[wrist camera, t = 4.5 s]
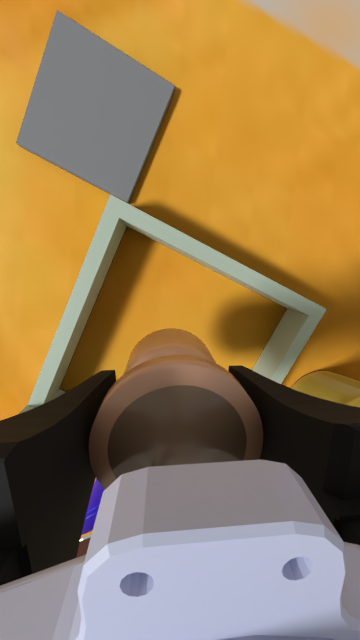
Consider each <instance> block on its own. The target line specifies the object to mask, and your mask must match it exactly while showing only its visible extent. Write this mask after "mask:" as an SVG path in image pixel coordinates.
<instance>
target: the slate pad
mask: <svg viewBox="0 0 360 640" xmlns="http://www.w3.org/2000/svg"><path fill="white" fill-rule="evenodd" d="M174 90H175V86H174V85H173V84H171V83H170V82H168V81H167V80H165V79H164V78H162V77H160V76H159V75H157V74H156V73H154V72H153V71H151V70H150V69H148V68H146V67H145V66H143V65H142V64H140V63H139V62H137V61H136V60H134V59H132V58H131V57H129V56H128V55H126V54H125V53H123V52H122V51H120V50H118V49H117V48H115V47H114V46H112V45H111V44H109V43H108V42H106V41H104V40H103V39H101V38H100V37H98V36H97V35H95V34H94V33H92V32H90V31H89V30H87V29H86V28H84V27H83V26H81V25H80V24H78V23H76V22H75V21H73V20H72V19H70V18H69V17H67V16H66V15H64V14H62V13H61V12H59V11H58V10H57V12H56V15H55V18H54V22H53V25H52V28H51V31H50V35H49V38H48V41H47V44H46V48H45V51H44V54H43V57H42V61H41V64H40V67H39V70H38V74H37V77H36V80H35V83H34V87H33V90H32V93H31V96H30V100H29V103H28V106H27V109H26V113H25V116H24V119H23V122H22V125H21V129H20V132H19V135H18V138H17V142H16V143H17V144H18V145H19V146H20V147H22V148H24V149H26V150H28V151H29V152H31V153H33V154H35V155H37V156H39V157H41V158H43V159H45V160H46V161H48V162H50V163H52V164H54V165H56V166H58V167H60V168H62V169H63V170H65V171H67V172H69V173H71V174H73V175H75V176H77V177H79V178H80V179H82V180H84V181H86V182H88V183H90V184H92V185H94V186H96V187H97V188H99V189H101V190H103V191H105V192H107V193H109V194H111V195H113V196H114V197H116V198H118V199H120V200H122V201H124V202H126V203H129V201H130V199H131V196H132V194H133V191H134V189H135V186H136V184H137V181H138V179H139V177H140V174H141V172H142V169H143V167H144V164H145V162H146V160H147V157H148V155H149V152H150V150H151V147H152V145H153V142H154V140H155V138H156V135H157V133H158V130H159V128H160V125H161V123H162V120H163V118H164V116H165V113H166V111H167V108H168V106H169V103H170V101H171V98H172V96H173V94H174Z"/></svg>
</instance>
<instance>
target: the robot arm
mask: <svg viewBox="0 0 360 640" xmlns="http://www.w3.org/2000/svg"><path fill="white" fill-rule="evenodd" d="M229 372H230V373H231V374H232V375H233V376H234V377H235V378H236V379H237V380H238V381H239V383H240V384H241V386H242V387H243V388H244V390H245V391H246V393H247V394H248V396H249V397H250V398H251V400H252V401H253V403H254V404H255V406H256V408H257V410H258V412H259V415H260V418H261V421H262V427H263V446H262V452H261V455H260V459H259V460H245V461H229V462H214V463H199V464H183V465H168V466H153V467H146V468H142V469H139V470H136V471H132V472H129V473H125V474H122V475H120V476H119V477H118V478H117V479H116V480H115V481H114V482H113V483H112V484H111V485H110V486H109V487H108V488H107V489H106V490H104V491H103V494H102V498H101V502H100V505H99V509H98V513H97V516H96V520H95V524H94V528H93V531H92V535H91V539H90V542H89V546H88V550H87V554H86V555H83V556H80V557H77V552H78V548H79V543H80V539H81V534H82V530H83V526H84V522H85V517H86V513H87V509H88V505H89V501H90V497H91V493H92V489H93V485H94V481H95V478H96V476H95V474H94V472H93V469H92V467H91V462H90V458H89V436H90V432H91V429H92V425H93V423H94V421H95V418H96V416H97V414H98V411H99V409H100V407H101V404H102V402H103V400H104V397H105V396H106V394H107V393H108V391H109V389H110V388H111V387H112V386H113V384H114V383H115V382H116V376H115V370H105V371H101V372H99V373H97V374H95V375H94V376H92V377H90V378H89V379H87V380H86V381H84V382H83V383H81V384H79V385H78V386H76V387H74V388H73V389H71V390H69V391H67V392H66V393H64V394H62V395H61V396H59V397H57V398H55V399H53V400H51V401H49V402H47V403H45V404H42V405H40V406H38V407H36V408H33V409H31V410H28V411H26V412H23V413H21V414H18V415H15V416H13V417H10V418H7V419H5V420H1V421H0V640H360V407H355V406H350V405H345V404H341V403H336V402H332V401H329V400H325V399H321V398H318V397H314V396H311V395H308V394H305V393H302V392H299V391H296V390H294V389H291V388H289V387H286V386H284V385H282V384H279V383H277V382H275V381H273V380H271V379H269V378H267V377H265V376H262V375H260V374H258V373H256V372H254V371H252V370H250V369H248V368H246V367H244V366H229ZM76 557H77V558H76Z"/></svg>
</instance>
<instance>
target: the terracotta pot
mask: <svg viewBox="0 0 360 640" xmlns="http://www.w3.org/2000/svg"><path fill="white" fill-rule="evenodd" d="M262 446H263V427H262V421H261V418H260V415H259V412H258V410H257V408H256V406H255V404H254V403H253V401H252V400H251V398H250V397H249V396H248V394H247V393H246V391H245V390H244V388H243V387H242V386H241V384H240V383H239V381H238V380H237V379H236V378H235V377H234V376H233V375H232V374H231V373H230V372H228V371H227V370H226V369H225V368H223V367H221V366H220V365H218V364H216V362H215V360H214V359H213V357H212V355H211V354H210V352H209V350H208V348H207V347H206V346H205V344H204V343H203V342H202V341H201V340H200V339H199V338H198V337H196V336H195V335H193V334H192V333H189V332H187V331H184V330H180V329H162V330H158V331H155V332H153V333H151V334H149V335H147V336H146V337H144V338H143V339H142V340H141V341H139V342H138V344H137V345H136V346H135V347H134V349H133V351H132V352H131V355H130V357H129V360H128V363H127V366H126V369H125V372H124V374H123V375H122V376H121V377H120V378H119V379H118V380H117V381H116V382H115V383H114V384H113V386H112V387H111V388H110V389H109V391H108V393H107V394H106V396H105V397H104V400H103V402H102V404H101V407H100V409H99V411H98V414H97V416H96V418H95V421H94V423H93V425H92V429H91V432H90V436H89V458H90V462H91V467H92V469H93V472H94V474H95V476H96V478H97V480H98V481H99V483H100V484H101V486H102V487H103V488H104V489H105V490H106V489H107V488H108V487H109V486H110V485H111V484H112V483H113V482H114V481H115V480H116V479H117V478H118V477H119V476H120V475H122V474H125V473H129V472H132V471H136V470H139V469H142V468H146V467H153V466H168V465H183V464H199V463H214V462H229V461H245V460H259V459H260V455H261V452H262Z"/></svg>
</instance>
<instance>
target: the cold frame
mask: <svg viewBox="0 0 360 640" xmlns="http://www.w3.org/2000/svg"><path fill="white" fill-rule="evenodd" d="M126 226H127V227H129V228H131V229H133V230H135V231H137V232H139V233H141V234H143V235H145V236H147V237H149V238H151V239H153V240H155V241H157V242H159V243H160V244H162V245H164V246H166V247H168V248H170V249H172V250H174V251H176V252H178V253H180V254H182V255H184V256H186V257H188V258H190V259H192V260H194V261H196V262H198V263H200V264H201V265H203V266H205V267H207V268H209V269H211V270H213V271H215V272H217V273H219V274H221V275H223V276H225V277H227V278H229V279H231V280H233V281H235V282H237V283H239V284H241V285H242V286H244V287H246V288H248V289H250V290H252V291H254V292H256V293H258V294H260V295H262V296H264V297H266V298H268V299H270V300H272V301H274V302H276V303H278V304H280V305H281V306H283V307H285V308H287V310H286V312H285V314H284V315H283V317H282V319H281V321H280V322H279V324H278V326H277V327H276V329H275V331H274V333H273V334H272V336H271V338H270V339H269V341H268V343H267V345H266V346H265V348H264V350H263V352H262V353H261V355H260V357H259V358H258V360H257V362H256V364H255V365H254V367H253V369H252V371H254V372H256V373H258V374H260V375H262V376H265V377H267V378H269V379H271V380H273V381H275V382H277V383H279V384H281V383H282V382H283V380H284V378H285V377H286V375H287V374H288V372H289V370H290V369H291V367H292V365H293V364H294V362H295V361H296V359H297V357H298V356H299V354H300V352H301V351H302V349H303V348H304V346H305V344H306V343H307V341H308V339H309V338H310V336H311V334H312V333H313V331H314V330H315V328H316V326H317V325H318V323H319V321H320V320H321V318H322V317H323V315H324V313H325V312H326V310H327V309H326V308H324V307H322V306H320V305H318V304H316V303H314V302H312V301H311V300H309V299H307V298H305V297H303V296H301V295H299V294H297V293H295V292H294V291H292V290H290V289H288V288H286V287H284V286H282V285H280V284H278V283H277V282H275V281H273V280H271V279H269V278H267V277H265V276H263V275H261V274H260V273H258V272H256V271H254V270H252V269H250V268H248V267H246V266H244V265H243V264H241V263H239V262H237V261H235V260H233V259H231V258H229V257H227V256H226V255H224V254H222V253H220V252H218V251H216V250H214V249H212V248H210V247H209V246H207V245H205V244H203V243H201V242H199V241H197V240H195V239H194V238H192V237H190V236H188V235H186V234H184V233H182V232H180V231H178V230H177V229H175V228H173V227H171V226H169V225H167V224H165V223H163V222H161V221H160V220H158V219H156V218H154V217H152V216H150V215H148V214H146V213H144V212H143V211H141V210H139V209H137V208H135V207H133V206H131V205H129V204H127V203H126V202H124V201H122V200H120V199H118V198H116V197H114V196H112V195H110V197H109V199H108V202H107V204H106V207H105V209H104V212H103V214H102V217H101V220H100V222H99V225H98V227H97V230H96V232H95V235H94V237H93V240H92V242H91V245H90V248H89V250H88V253H87V255H86V258H85V260H84V263H83V265H82V268H81V270H80V273H79V276H78V278H77V281H76V283H75V286H74V288H73V291H72V293H71V296H70V298H69V301H68V304H67V306H66V309H65V311H64V314H63V316H62V319H61V321H60V324H59V326H58V329H57V332H56V334H55V337H54V339H53V342H52V344H51V347H50V349H49V352H48V354H47V357H46V360H45V362H44V365H43V367H42V370H41V372H40V375H39V377H38V380H37V382H36V385H35V387H34V390H33V393H32V395H31V398H30V400H29V403H28V405H27V406H26V407H25V408H24V409H23V410H22V411H21V412H20V413H19V414H21V413H23V412H26V411H28V410H31V409H33V408H36V407H38V406H40V405H42V404H45V403H47V402H49V401H51V400H53V399H55V398H57V397H59V396H61V395H62V394H64V393H66V392H65V391H63V390H60V389H59V388H60V385H61V383H62V380H63V378H64V376H65V373H66V371H67V368H68V366H69V364H70V361H71V359H72V356H73V354H74V352H75V349H76V347H77V344H78V342H79V339H80V337H81V335H82V332H83V330H84V327H85V325H86V323H87V320H88V318H89V315H90V313H91V311H92V308H93V306H94V303H95V301H96V299H97V296H98V294H99V291H100V289H101V287H102V284H103V282H104V279H105V277H106V275H107V272H108V270H109V267H110V265H111V263H112V260H113V258H114V255H115V253H116V250H117V248H118V246H119V243H120V241H121V238H122V236H123V234H124V231H125V229H126Z"/></svg>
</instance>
